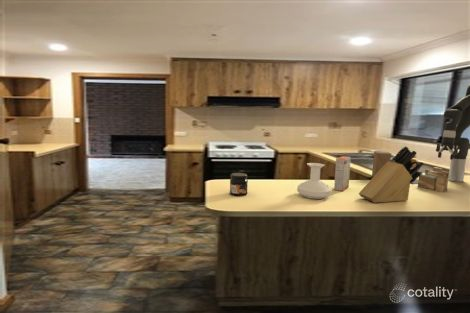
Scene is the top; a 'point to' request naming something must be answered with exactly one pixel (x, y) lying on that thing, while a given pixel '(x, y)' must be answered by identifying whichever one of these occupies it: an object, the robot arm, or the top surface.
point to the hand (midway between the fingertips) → (445, 158)
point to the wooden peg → (431, 172)
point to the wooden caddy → (435, 182)
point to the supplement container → (238, 184)
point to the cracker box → (342, 173)
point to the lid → (434, 171)
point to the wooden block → (380, 161)
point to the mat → (415, 182)
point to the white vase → (314, 184)
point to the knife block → (393, 179)
